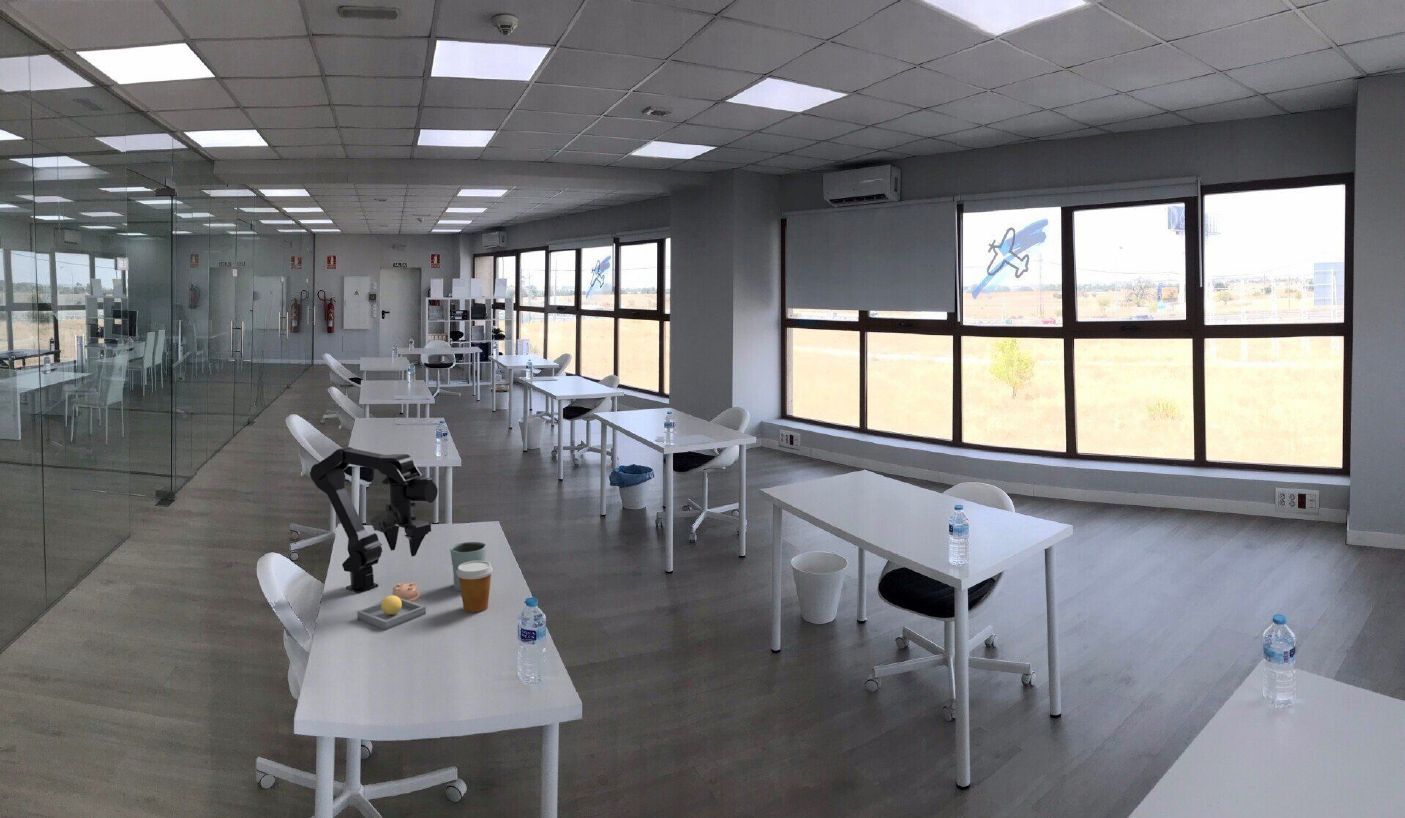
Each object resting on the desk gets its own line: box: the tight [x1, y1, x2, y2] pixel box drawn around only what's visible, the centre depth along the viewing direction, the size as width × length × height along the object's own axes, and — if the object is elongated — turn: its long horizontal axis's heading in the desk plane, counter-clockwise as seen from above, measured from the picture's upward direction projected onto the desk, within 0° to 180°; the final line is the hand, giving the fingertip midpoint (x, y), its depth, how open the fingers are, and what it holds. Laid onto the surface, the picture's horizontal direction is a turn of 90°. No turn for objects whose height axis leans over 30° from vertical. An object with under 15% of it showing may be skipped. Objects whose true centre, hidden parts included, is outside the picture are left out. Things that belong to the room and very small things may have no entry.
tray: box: [356, 598, 427, 631], centre depth 197 cm, size 12×12×2 cm
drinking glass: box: [449, 541, 487, 592], centre depth 218 cm, size 10×10×12 cm
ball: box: [381, 594, 402, 615], centre depth 197 cm, size 5×5×5 cm
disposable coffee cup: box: [456, 560, 494, 614], centre depth 202 cm, size 10×10×12 cm
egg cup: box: [392, 582, 421, 602], centre depth 209 cm, size 8×8×4 cm
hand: (403, 553), depth 211 cm, fingers open, 9 cm apart
